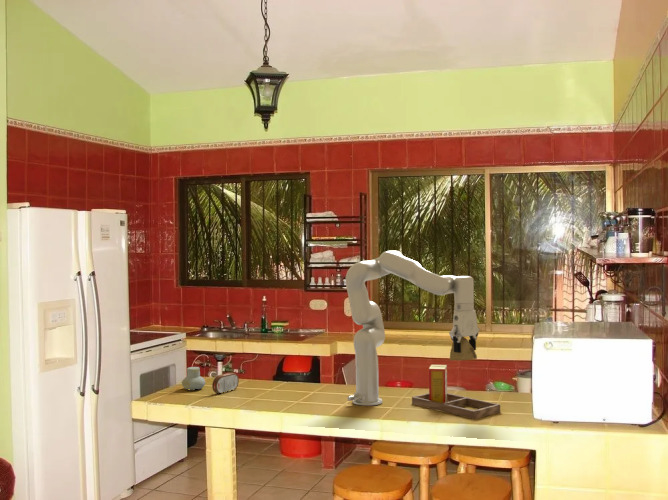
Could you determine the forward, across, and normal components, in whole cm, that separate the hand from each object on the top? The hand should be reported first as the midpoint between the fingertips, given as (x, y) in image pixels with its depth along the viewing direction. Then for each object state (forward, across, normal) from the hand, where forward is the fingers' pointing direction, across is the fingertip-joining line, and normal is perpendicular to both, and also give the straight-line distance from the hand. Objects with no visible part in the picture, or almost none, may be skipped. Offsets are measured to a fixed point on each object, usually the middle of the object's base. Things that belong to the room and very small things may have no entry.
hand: (465, 350), depth 276 cm
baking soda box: (+25, +2, +16) cm, 30 cm away
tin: (+24, -54, +97) cm, 113 cm away
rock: (+4, 0, 0) cm, 4 cm away
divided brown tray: (+24, +2, +7) cm, 25 cm away
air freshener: (+24, -62, +112) cm, 131 cm away
